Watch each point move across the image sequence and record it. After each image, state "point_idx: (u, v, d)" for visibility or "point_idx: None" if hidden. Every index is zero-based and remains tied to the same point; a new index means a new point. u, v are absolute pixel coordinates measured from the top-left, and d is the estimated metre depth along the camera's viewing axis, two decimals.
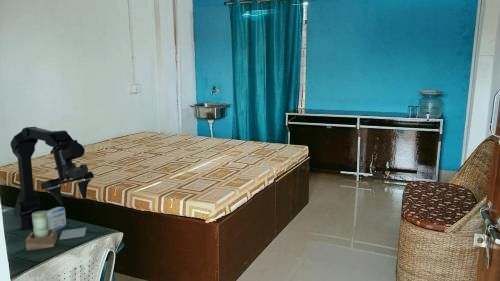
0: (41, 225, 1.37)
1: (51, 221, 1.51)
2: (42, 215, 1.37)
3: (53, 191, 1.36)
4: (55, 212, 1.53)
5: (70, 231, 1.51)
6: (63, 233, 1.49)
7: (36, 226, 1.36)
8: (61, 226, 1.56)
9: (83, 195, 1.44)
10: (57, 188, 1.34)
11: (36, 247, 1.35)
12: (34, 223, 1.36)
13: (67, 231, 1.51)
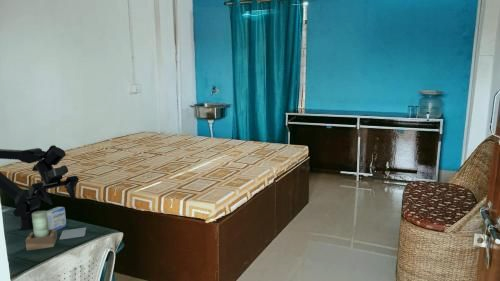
0: (41, 225, 1.37)
1: (51, 221, 1.51)
2: (42, 215, 1.37)
3: (41, 195, 1.47)
4: (55, 212, 1.53)
5: (70, 231, 1.51)
6: (63, 233, 1.49)
7: (36, 226, 1.36)
8: (61, 226, 1.56)
9: (72, 196, 1.53)
10: (42, 189, 1.45)
11: (36, 247, 1.35)
12: (34, 223, 1.36)
13: (67, 231, 1.51)
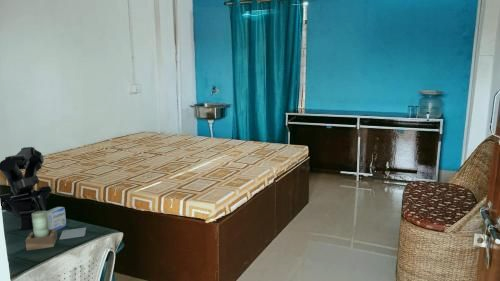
0: (41, 225, 1.37)
1: (51, 221, 1.51)
2: (42, 215, 1.37)
3: (9, 207, 1.38)
4: (55, 212, 1.53)
5: (70, 231, 1.51)
6: (63, 233, 1.49)
7: (35, 226, 1.36)
8: (61, 226, 1.56)
9: (43, 207, 1.45)
10: (9, 201, 1.36)
11: (36, 247, 1.35)
12: (34, 223, 1.36)
13: (67, 231, 1.51)
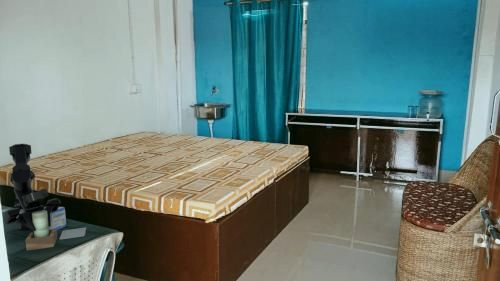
0: (41, 225, 1.37)
1: (51, 221, 1.51)
2: (42, 215, 1.37)
3: (24, 220, 1.37)
4: (55, 212, 1.53)
5: (70, 231, 1.51)
6: (63, 233, 1.49)
7: (36, 226, 1.36)
8: (61, 226, 1.56)
9: (48, 223, 1.40)
10: (24, 214, 1.35)
11: (36, 247, 1.35)
12: (34, 223, 1.36)
13: (67, 231, 1.51)
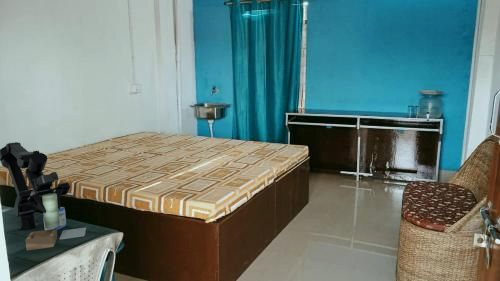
0: (51, 207, 1.39)
1: None
2: (52, 197, 1.39)
3: (34, 202, 1.40)
4: None
5: (70, 231, 1.51)
6: (63, 233, 1.49)
7: (46, 208, 1.39)
8: (61, 226, 1.56)
9: (58, 205, 1.43)
10: (35, 196, 1.38)
11: (36, 247, 1.35)
12: (44, 205, 1.39)
13: (67, 231, 1.51)
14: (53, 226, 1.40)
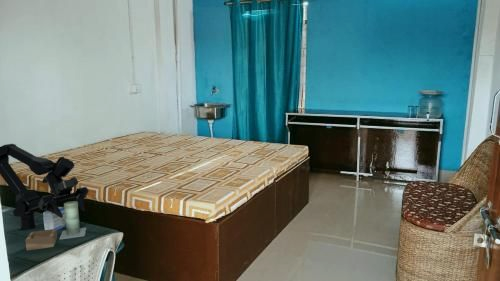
0: (73, 215, 1.46)
1: (51, 221, 1.51)
2: (74, 205, 1.46)
3: (51, 208, 1.45)
4: None
5: None
6: (63, 233, 1.49)
7: (68, 215, 1.46)
8: (61, 226, 1.56)
9: (82, 208, 1.51)
10: (52, 201, 1.43)
11: (36, 247, 1.35)
12: (66, 212, 1.46)
13: None
14: (74, 232, 1.47)
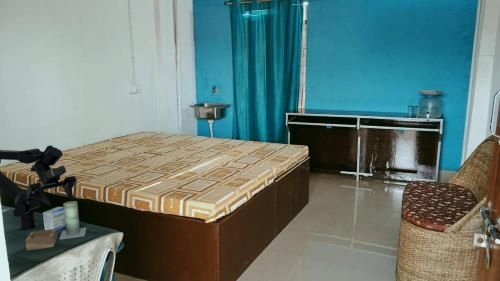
0: (72, 215, 1.46)
1: (51, 221, 1.51)
2: (73, 205, 1.46)
3: (39, 196, 1.46)
4: (55, 212, 1.53)
5: None
6: (63, 233, 1.49)
7: (67, 215, 1.46)
8: (61, 226, 1.56)
9: (70, 196, 1.52)
10: (40, 189, 1.44)
11: (36, 247, 1.35)
12: (66, 212, 1.46)
13: None
14: (74, 232, 1.47)
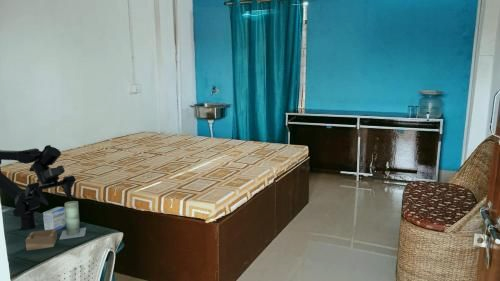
0: (73, 214, 1.46)
1: (51, 221, 1.51)
2: (74, 205, 1.47)
3: (37, 195, 1.46)
4: (55, 212, 1.53)
5: None
6: (63, 233, 1.49)
7: (68, 215, 1.46)
8: (61, 226, 1.56)
9: (69, 196, 1.52)
10: (38, 189, 1.44)
11: (36, 247, 1.35)
12: (67, 212, 1.46)
13: None
14: (74, 232, 1.47)
